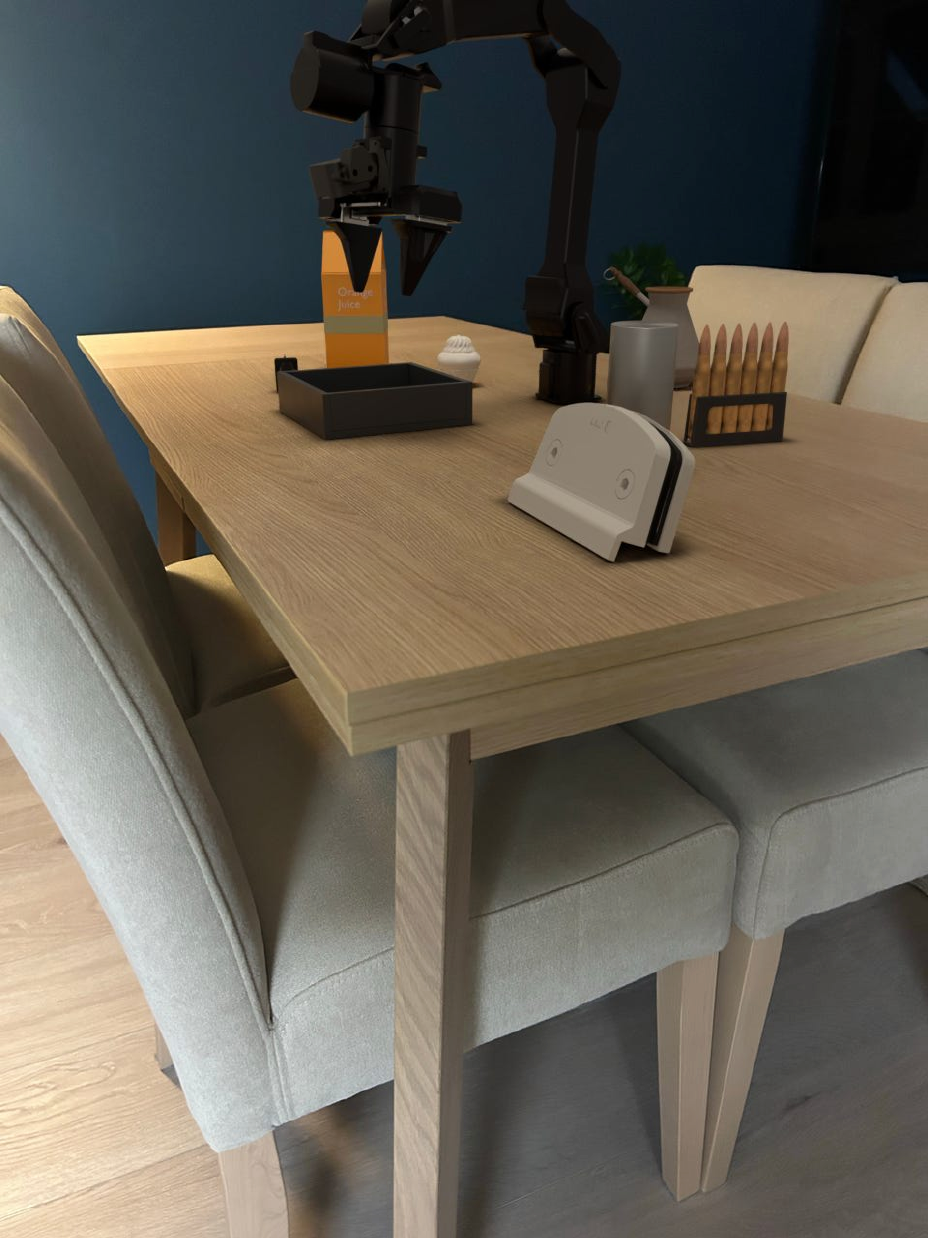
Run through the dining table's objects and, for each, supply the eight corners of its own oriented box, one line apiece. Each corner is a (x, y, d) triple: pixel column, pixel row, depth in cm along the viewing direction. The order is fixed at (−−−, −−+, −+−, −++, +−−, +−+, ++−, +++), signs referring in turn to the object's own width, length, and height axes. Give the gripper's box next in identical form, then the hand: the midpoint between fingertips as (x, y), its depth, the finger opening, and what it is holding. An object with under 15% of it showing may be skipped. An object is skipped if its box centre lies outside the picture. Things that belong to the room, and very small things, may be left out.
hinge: (505, 499, 78) (544, 382, 76) (551, 511, 80) (591, 398, 78) (610, 561, 64) (663, 420, 62) (663, 574, 66) (716, 438, 64)
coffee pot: (720, 387, 130) (732, 271, 124) (650, 393, 125) (659, 274, 119) (635, 366, 148) (641, 265, 142) (571, 371, 143) (575, 266, 137)
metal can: (641, 456, 93) (651, 319, 88) (679, 469, 88) (692, 325, 83) (590, 463, 90) (598, 322, 85) (626, 477, 85) (636, 329, 80)
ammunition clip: (773, 436, 101) (788, 320, 96) (783, 440, 99) (798, 322, 94) (682, 443, 98) (693, 323, 93) (691, 447, 96) (702, 325, 92)
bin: (412, 399, 122) (411, 361, 120) (472, 424, 107) (472, 381, 105) (279, 411, 114) (276, 371, 113) (325, 439, 100) (322, 394, 98)
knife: (296, 397, 116) (294, 360, 114) (271, 397, 115) (268, 360, 114) (303, 384, 145) (301, 354, 143) (283, 384, 144) (281, 354, 143)
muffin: (430, 387, 130) (429, 335, 127) (446, 380, 135) (446, 330, 132) (472, 390, 128) (472, 337, 125) (487, 383, 133) (487, 332, 130)
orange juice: (385, 375, 140) (380, 230, 132) (326, 375, 141) (317, 230, 133) (389, 367, 148) (385, 229, 140) (333, 367, 148) (326, 230, 140)
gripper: (276, 124, 97) (272, 283, 102) (376, 105, 84) (365, 290, 88) (367, 144, 104) (359, 293, 109) (472, 130, 90) (457, 300, 95)
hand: (381, 293), depth 100 cm, fingers open, 9 cm apart
